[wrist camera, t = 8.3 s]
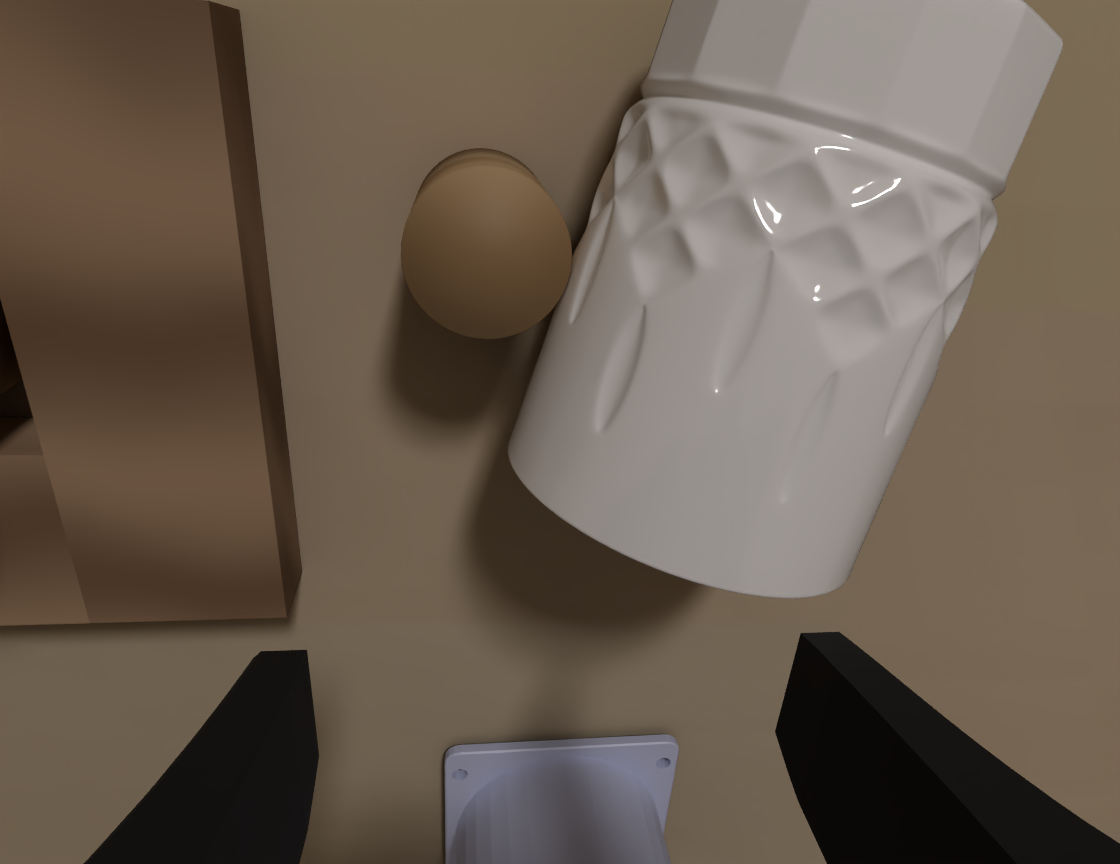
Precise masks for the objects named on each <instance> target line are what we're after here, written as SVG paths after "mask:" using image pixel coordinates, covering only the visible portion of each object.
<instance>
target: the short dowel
mask: <svg viewBox="0 0 1120 864" xmlns="http://www.w3.org/2000/svg"><path fill="white" fill-rule="evenodd" d="M401 261H402V268H403V272H404V277H405V280H406V282H407V285H408V287H409V290H410V291H411V293H412V295H413V297H414V299H415V300H416V301H417V303H418V304H419V306H420V307H421V308H422V309H423V310H424V311H425V312H426V313H427V315H428V316H430V317H431V318H432V319H433V320H434V321H436V322H437V323H438V324H440V325H442V326H443V327H445V328H446V329H448V330H451V331H453V332H455V333H457V334H460V335H463V336H467V337H472V338H478V339H498V338H504V337H509V336H512V335H515V334H518V333H521V332H523V331H525V330H527V329H529V328H531V327H532V326H534V325H535V324H537V323H538V322H539V321H541V320H542V319H543V318H544V317H545V316H546V315H547V314H548V313H549V312H550V311H551V310H552V309H553V308H554V306H555V305H556V304H557V302H558V301H559V299H560V297H561V296H562V294H563V292H564V290H565V287H566V285H567V282H568V279H569V275H570V270H571V262H572V248H571V240H570V235H569V232H568V228H567V225H566V223H565V221H564V218H563V216H562V214H561V213H560V211H559V209H558V207H557V206H556V205H555V203H554V202H553V200H552V199H551V198H550V196H549V195H548V193H547V192H546V191H545V189H544V188H543V186H542V185H541V183H540V182H539V181H538V179H537V178H536V177H535V175H534V174H533V173H532V172H531V171H530V170H529V169H528V168H527V167H526V166H525V165H524V164H523V163H521V162H520V161H519V160H517V159H516V158H514V157H512V156H510V155H508V154H506V153H503V152H500V151H497V150H493V149H484V148H477V149H468V150H464V151H460V152H457V153H455V154H453V155H451V156H448V157H447V158H445V159H444V160H442V161H441V162H439V163H438V164H437V165H436V166H435V167H434V168H433V169H432V170H431V171H430V172H429V174H428V175H427V176H426V178H425V179H424V181H423V183H422V185H421V187H420V189H419V191H418V194H417V196H416V199H415V201H414V204H413V206H412V209H411V212H410V214H409V217H408V219H407V222H406V225H405V228H404V231H403V236H402V243H401Z"/></svg>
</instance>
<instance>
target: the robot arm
mask: <svg viewBox="0 0 1120 864" xmlns="http://www.w3.org/2000/svg"><path fill="white" fill-rule="evenodd" d="M775 733H776V736H777V739H778V742H779V745H780V749H781V752H782V755H783V758H784V761H785V764H786V768H787V771H788V773H789V776H790V779H791V782H792V785H793V788H794V791H795V794H796V796H797V799H798V802H799V804H800V806H801V808H802V810H803V813H804V815H805V817H806V819H807V821H808V824H809V826H810V828H811V830H812V832H813V834H814V837H815V839H816V841H817V843H818V845H819V847H820V849H821V852H822V854H823V856H824V858H825V860H826V862H827V864H1120V844H1119V843H1118V842H1116V841H1115V840H1113V839H1112V838H1110V837H1109V836H1107V835H1106V834H1104V833H1102V832H1101V831H1099V830H1098V829H1096V828H1095V827H1093V826H1092V825H1090V824H1089V823H1087V822H1086V821H1084V820H1083V819H1081V818H1080V817H1078V816H1077V815H1075V814H1074V813H1072V812H1071V811H1070V810H1068V809H1067V808H1065V807H1064V806H1062V805H1061V804H1059V803H1058V802H1057V801H1055V800H1054V799H1052V798H1051V797H1050V796H1048V795H1047V794H1045V793H1044V792H1043V791H1041V790H1040V789H1039V788H1037V787H1036V786H1034V785H1033V784H1032V783H1030V782H1029V781H1028V780H1026V779H1025V778H1023V777H1022V776H1021V775H1019V774H1018V773H1017V772H1015V771H1014V770H1012V769H1011V768H1010V767H1008V766H1007V765H1006V764H1004V763H1003V762H1002V761H1000V760H999V759H998V758H996V757H995V756H994V755H992V754H991V753H990V752H989V751H987V750H986V749H985V748H983V747H982V746H981V745H979V744H978V743H977V742H976V741H974V740H973V739H972V738H970V737H969V736H968V735H967V734H965V733H964V732H963V731H961V730H960V729H959V728H958V727H956V726H955V725H954V724H953V723H951V722H950V721H949V720H948V719H946V718H945V717H944V716H943V715H941V714H940V713H939V712H938V711H936V710H935V709H934V708H933V707H932V706H930V705H929V704H928V703H927V702H925V701H924V700H923V699H922V698H920V697H919V696H918V695H917V694H916V693H914V692H913V691H912V690H911V689H909V688H908V687H907V686H906V685H905V684H903V683H902V682H901V681H900V680H898V679H897V678H896V677H895V676H894V675H892V674H891V673H890V672H889V671H888V670H886V669H885V668H884V667H883V666H881V665H880V664H879V663H878V662H877V661H875V660H874V659H873V658H872V657H870V656H869V655H868V654H867V653H865V652H864V651H863V650H862V649H860V648H859V647H858V646H857V645H855V644H854V643H853V642H852V641H850V640H849V639H848V638H846V637H845V636H844V635H842V634H841V633H840V632H822V633H801V634H800V638H799V642H798V646H797V650H796V654H795V657H794V661H793V665H792V669H791V673H790V677H789V680H788V684H787V688H786V692H785V696H784V700H783V704H782V707H781V711H780V715H779V719H778V723H777V727H776V730H775ZM678 752H679V749H678V744H677V741H676V739H675V738H674V737H673V736H671V735H666V734H660V735H640V736H621V737H602V738H582V739H563V740H544V741H524V742H505V743H486V744H466V745H456V746H453V747H451V748H450V749H448V751H447V752H446V754H445V850H446V864H671V862H670V858H669V854H668V850H667V846H666V843H665V839H664V835H663V834H664V828H665V823H666V817H667V812H668V807H669V801H670V796H671V790H672V785H673V779H674V774H675V769H676V763H677V758H678ZM661 758H662V759H661ZM318 759H319V751H318V743H317V734H316V725H315V717H314V708H313V699H312V690H311V682H310V673H309V664H308V656H307V650H289V651H261V652H260V653H259V654H258V655H256V656H255V657H254V658H253V659H252V661H251V662H250V664H249V665H248V666H247V668H246V669H245V670H244V672H243V673H242V675H241V676H240V677H239V679H238V680H237V681H236V683H235V684H234V685H233V687H232V688H231V689H230V691H229V692H228V693H227V695H226V696H225V697H224V699H223V700H222V701H221V703H220V704H219V705H218V707H217V708H216V709H215V711H214V712H213V713H212V714H211V716H210V717H209V718H208V720H207V721H206V722H205V723H204V725H203V726H202V727H201V729H200V730H199V731H198V732H197V734H196V735H195V736H194V737H193V739H192V740H191V741H190V742H189V744H188V745H187V746H186V747H185V748H184V750H183V751H182V752H181V753H180V754H179V756H178V757H177V758H176V759H175V761H174V762H173V763H172V764H171V765H170V767H169V768H168V769H167V770H166V771H165V773H164V774H163V775H162V776H161V778H160V779H159V780H158V781H157V782H156V784H155V785H154V786H153V787H152V788H151V789H150V791H149V792H148V793H147V794H146V795H145V796H144V798H143V799H142V800H141V801H140V802H139V803H138V804H137V805H136V807H135V808H134V809H133V810H132V811H131V812H130V813H129V814H128V815H127V817H126V818H125V819H124V820H123V821H122V822H121V823H120V824H119V825H118V827H117V828H116V829H115V830H114V831H113V832H112V833H111V834H110V836H109V837H108V838H107V839H106V840H105V841H104V842H103V843H102V844H101V846H100V847H99V848H98V849H97V850H96V851H95V852H94V853H93V854H92V855H91V857H90V858H89V859H88V860H87V861H86V862H85V863H84V864H299V862H300V858H301V854H302V850H303V847H304V843H305V839H306V835H307V831H308V824H309V818H310V812H311V806H312V799H313V793H314V786H315V779H316V772H317V765H318ZM459 769H462V770H459Z"/></svg>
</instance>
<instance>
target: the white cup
mask: <svg viewBox="0 0 1120 864" xmlns="http://www.w3.org/2000/svg"><path fill="white" fill-rule="evenodd" d="M1062 47H1063V41H1062V39H1061V37H1060V36H1059V35H1058V34H1057V33H1056V32H1055V31H1054V30H1053V29H1052V28H1051V27H1050V26H1049V25H1048V24H1047V23H1046V22H1045V21H1044V20H1043V19H1042V18H1041V17H1040V16H1039V15H1038V14H1037V13H1036V12H1035V11H1034V10H1033V9H1032V8H1031V7H1030V6H1029V5H1028V4H1027V3H1026V2H1024V1H1022V0H672V3H671V6H670V9H669V12H668V15H667V18H666V21H665V24H664V27H663V30H662V33H661V36H660V39H659V42H658V45H657V47H656V50H655V53H654V56H653V59H652V62H651V65H650V68H649V71H648V74H647V76H646V78H645V79H644V81H643V82H642V84H641V93H642V97H643V99H641V100H640V101H638V102H637V103H635V104H634V105H633V106H631V107H630V108H629V109H628V111H627V112H626V113H625V115H624V117H623V120H622V123H621V127H620V131H619V134H618V138H617V143H616V147H615V151H614V154H613V156H612V158H611V160H610V162H609V164H608V166H607V168H606V170H605V172H604V174H603V176H602V178H601V181H600V183H599V185H598V187H597V190H596V193H595V197H594V200H593V204H592V208H591V212H590V216H589V221H588V225H587V228H586V230H585V232H584V234H583V236H582V238H581V240H580V242H579V244H578V246H577V248H576V250H575V252H574V254H573V256H572V262H571V270H570V275H569V279H568V282H567V285H566V287H565V290H564V292H563V294H562V296H561V297H560V299H559V301H558V302H557V304H556V307H555V310H554V313H553V316H552V319H551V322H550V325H549V328H548V331H547V334H546V337H545V340H544V343H543V346H542V348H541V351H540V354H539V357H538V360H537V363H536V366H535V368H534V370H533V373H532V376H531V379H530V382H529V385H528V388H527V391H526V394H525V397H524V400H523V403H522V405H521V408H520V411H519V414H518V417H517V420H516V423H515V426H514V429H513V431H512V434H511V437H510V440H509V444H508V456H509V460H510V463H511V465H512V468H513V470H514V471H515V473H516V475H517V476H518V478H519V479H520V481H521V482H522V483H523V484H524V486H525V487H526V488H527V489H528V490H529V491H530V492H531V493H532V494H533V495H534V496H535V497H536V498H537V499H538V500H539V501H540V502H541V503H542V504H543V505H545V506H546V507H547V508H548V509H549V510H551V511H552V512H553V513H555V514H556V515H557V516H559V517H560V518H561V519H563V520H564V521H566V522H567V523H568V524H570V525H571V526H573V527H574V528H576V529H578V530H579V531H581V532H582V533H584V534H586V535H587V536H589V537H591V538H592V539H594V540H596V541H598V542H600V543H601V544H603V545H605V546H607V547H609V548H611V549H613V550H615V551H617V552H619V553H621V554H623V555H625V556H627V557H629V558H632V559H634V560H636V561H638V562H641V563H643V564H645V565H648V566H650V567H653V568H655V569H658V570H660V571H663V572H666V573H668V574H671V575H674V576H677V577H680V578H683V579H686V580H689V581H692V582H695V583H699V584H702V585H706V586H709V587H713V588H717V589H721V590H726V591H730V592H735V593H741V594H746V595H753V596H760V597H769V598H807V597H814V596H819V595H823V594H826V593H829V592H831V591H834V590H836V589H837V588H839V587H840V586H842V585H843V584H844V583H845V582H846V581H847V579H848V578H849V576H850V573H851V571H852V569H853V566H854V564H855V562H856V559H857V557H858V555H859V552H860V550H861V548H862V545H863V543H864V541H865V538H866V536H867V534H868V531H869V529H870V527H871V525H872V522H873V520H874V518H875V515H876V513H877V511H878V509H879V506H880V504H881V502H882V499H883V496H884V494H885V491H886V489H887V487H888V484H889V482H890V480H891V477H892V475H893V473H894V471H895V468H896V466H897V464H898V461H899V459H900V457H901V454H902V452H903V450H904V448H905V445H906V443H907V441H908V438H909V436H910V434H911V432H912V429H913V427H914V425H915V423H916V420H917V418H918V416H919V414H920V411H921V409H922V407H923V405H924V403H925V401H926V399H927V396H928V394H929V392H930V390H931V388H932V386H933V383H934V381H935V378H936V374H937V371H938V367H939V362H940V358H941V355H942V351H943V348H944V346H945V344H946V342H947V340H948V338H949V336H950V334H951V333H952V331H953V329H954V327H955V325H956V323H957V321H958V319H959V317H960V315H961V313H962V311H963V309H964V307H965V305H966V302H967V299H968V296H969V293H970V290H971V286H972V283H973V279H974V276H975V272H976V268H977V265H978V263H979V261H980V259H981V257H982V255H983V253H984V251H985V250H986V248H987V246H988V244H989V242H990V240H991V239H992V236H993V234H994V232H995V230H996V228H997V220H998V219H997V212H996V208H995V205H994V203H993V200H994V199H995V198H997V197H998V196H1000V195H1001V194H1002V193H1003V192H1004V191H1005V188H1006V180H1007V177H1008V174H1009V172H1010V169H1011V167H1012V165H1013V162H1014V160H1015V158H1016V155H1017V153H1018V151H1019V148H1020V146H1021V144H1022V141H1023V139H1024V137H1025V135H1026V132H1027V130H1028V128H1029V125H1030V123H1031V121H1032V119H1033V116H1034V114H1035V112H1036V109H1037V107H1038V105H1039V103H1040V100H1041V98H1042V96H1043V93H1044V91H1045V89H1046V86H1047V84H1048V82H1049V80H1050V77H1051V75H1052V73H1053V70H1054V68H1055V66H1056V63H1057V61H1058V58H1059V56H1060V53H1061V51H1062Z"/></svg>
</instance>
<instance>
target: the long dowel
mask: <svg viewBox="0 0 1120 864" xmlns="http://www.w3.org/2000/svg"><path fill="white" fill-rule="evenodd" d="M21 380H23V379H22V375H21V372H20V368H19V364H18V361H17V357H16V354H15V350H14V346H13V343H12V339H11V335H10V332H9V328H8V325H7V321H6V317H5V314H4V310H3V306H2V303H1V299H0V395H1V394H2V393H4V392H5V391H7V390H8V389H10V388H11V387H13V386H14V385H16V384H17V383H18V382H20V381H21Z"/></svg>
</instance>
